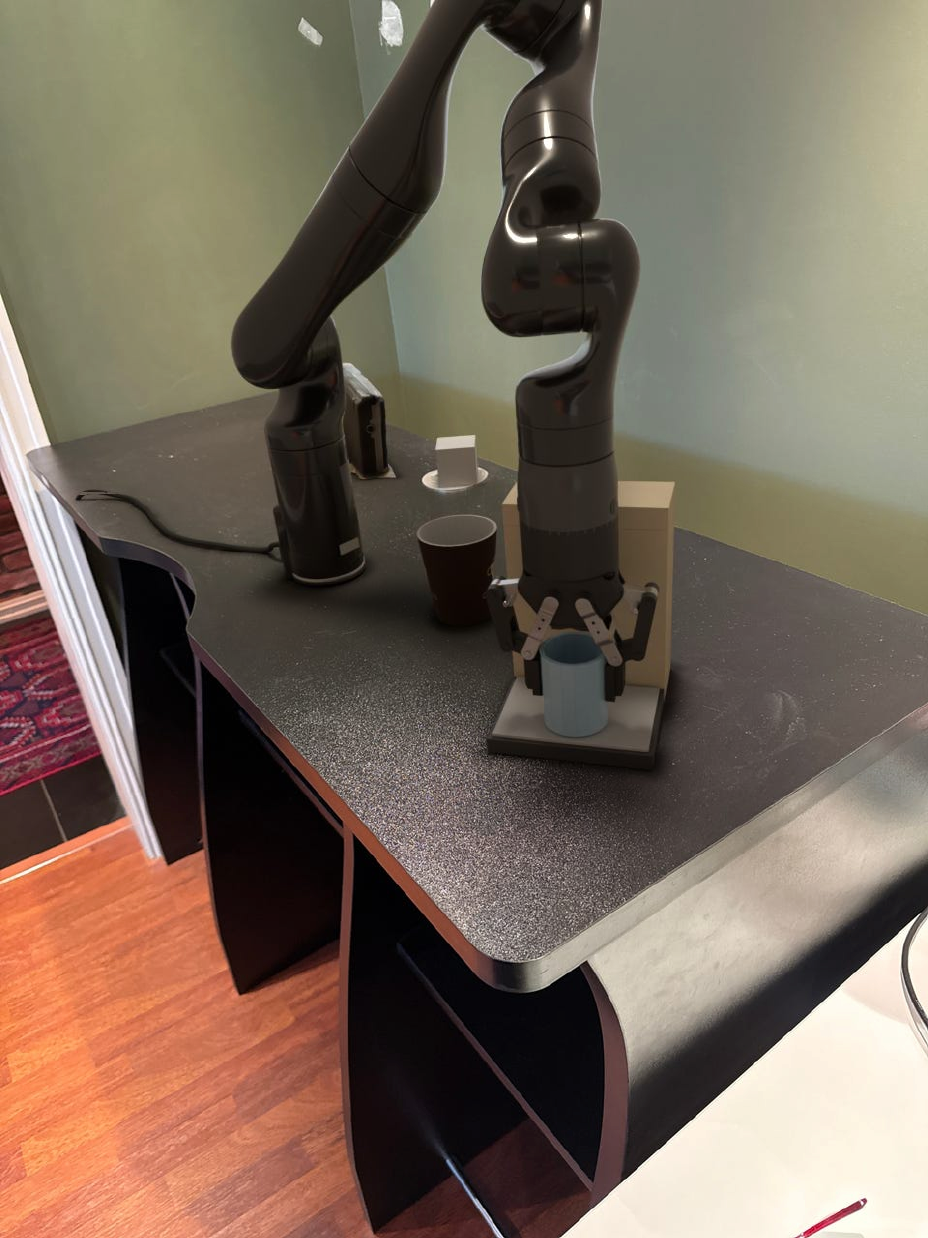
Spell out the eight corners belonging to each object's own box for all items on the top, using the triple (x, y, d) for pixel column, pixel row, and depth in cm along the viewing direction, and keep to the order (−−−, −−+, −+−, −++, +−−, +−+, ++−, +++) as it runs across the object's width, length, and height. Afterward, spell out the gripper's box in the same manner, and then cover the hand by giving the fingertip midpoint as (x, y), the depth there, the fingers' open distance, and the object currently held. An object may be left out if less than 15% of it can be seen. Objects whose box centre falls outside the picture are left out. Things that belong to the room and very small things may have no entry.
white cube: (441, 474, 142) (437, 437, 139) (478, 471, 141) (475, 434, 138) (438, 487, 136) (434, 449, 133) (477, 484, 136) (474, 446, 133)
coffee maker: (487, 752, 76) (468, 552, 67) (529, 657, 90) (518, 479, 81) (652, 770, 72) (655, 560, 63) (670, 668, 86) (675, 481, 76)
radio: (396, 477, 142) (383, 384, 135) (342, 486, 141) (327, 392, 134) (377, 438, 162) (366, 355, 155) (330, 445, 161) (317, 362, 154)
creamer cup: (550, 697, 79) (547, 629, 76) (613, 702, 78) (612, 633, 74) (537, 733, 75) (532, 663, 71) (603, 740, 73) (602, 668, 70)
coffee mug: (477, 636, 94) (469, 551, 89) (411, 621, 98) (400, 539, 94) (529, 590, 103) (524, 510, 98) (466, 578, 107) (458, 501, 102)
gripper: (669, 492, 68) (665, 677, 76) (489, 489, 72) (504, 664, 80) (659, 530, 62) (656, 727, 70) (463, 525, 66) (482, 711, 74)
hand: (574, 693), depth 75 cm, fingers closed on creamer cup, 5 cm apart
